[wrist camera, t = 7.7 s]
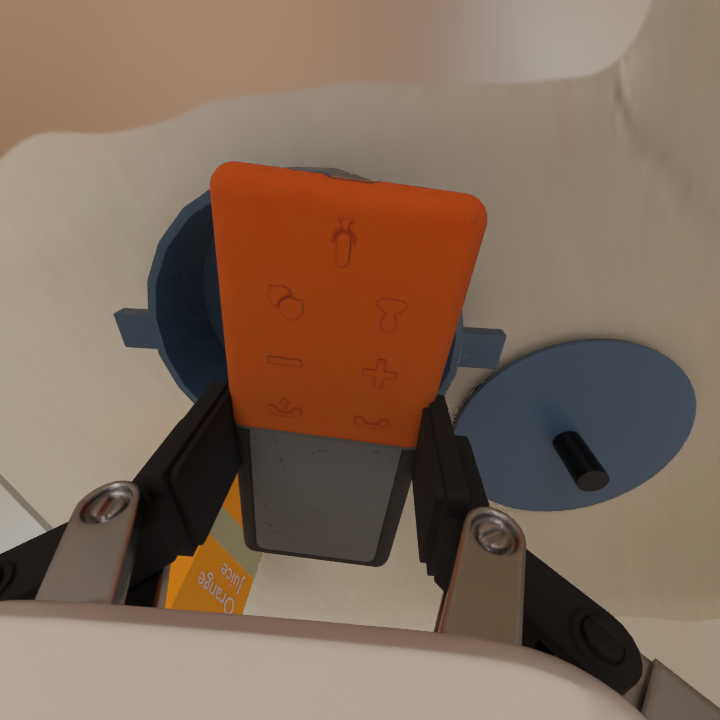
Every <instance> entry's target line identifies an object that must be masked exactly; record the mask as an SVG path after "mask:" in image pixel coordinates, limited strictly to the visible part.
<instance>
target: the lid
mask: <svg viewBox="0 0 720 720" xmlns="http://www.w3.org/2000/svg"><path fill="white" fill-rule="evenodd" d="M695 415H696V399H695V393H694V390H693V387H692V385H691V382H690V380H689V379H688V377H687V376H686V374H685V373H684V372H683V370H682V369H681V368H680V367H679V366H677V365H676V364H675V363H674V362H673V361H672V360H670V359H669V358H667V357H666V356H664V355H663V354H661V353H659V352H658V351H656V350H653V349H651V348H648V347H646V346H644V345H640V344H636V343H632V342H628V341H621V340H612V339H588V340H579V341H571V342H566V343H562V344H557V345H553V346H550V347H547V348H544V349H541V350H537V351H535V352H533V353H530V354H528V355H526V356H523V357H521V358H519V359H517V360H515V361H514V362H512V363H510V364H508V365H506V366H505V367H503V368H502V369H500V370H499V371H498V372H496V373H495V374H493V375H492V376H491V377H489V378H488V379H487V380H486V381H485V382H484V383H483V384H481V385H480V386H479V387H478V388H477V390H476V391H475V392H474V393H473V394H472V395H471V396H470V397H469V399H468V400H467V402H466V403H465V405H464V406H463V408H462V409H461V411H460V413H459V415H458V417H457V420H456V423H455V426H454V429H453V432H454V435H460V436H467V437H468V439H469V441H470V444H471V448H472V451H473V454H474V457H475V461H476V464H477V467H478V470H479V473H480V477H481V480H482V483H483V486H484V490H485V493H486V496H487V499H489V500H491V501H493V502H496V503H498V504H501V505H504V506H507V507H511V508H516V509H521V510H529V511H563V510H571V509H577V508H582V507H587V506H591V505H594V504H598V503H601V502H604V501H607V500H610V499H612V498H615V497H617V496H619V495H622V494H624V493H626V492H628V491H630V490H632V489H634V488H636V487H637V486H639V485H641V484H642V483H644V482H645V481H647V480H649V479H650V478H652V477H653V476H654V475H655V474H657V473H658V472H659V471H660V470H662V469H663V468H664V467H665V466H666V465H667V464H668V463H669V462H670V461H671V460H672V459H673V458H674V457H675V455H676V454H677V453H678V452H679V451H680V449H681V448H682V446H683V445H684V443H685V442H686V440H687V438H688V436H689V434H690V432H691V429H692V427H693V424H694V420H695Z"/></svg>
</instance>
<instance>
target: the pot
mask: <svg viewBox="0 0 720 720" xmlns="http://www.w3.org/2000/svg"><path fill="white" fill-rule="evenodd" d="M287 169H293V170H301V171H308V172H315V173H322V174H327V175H332V176H340V177H347V178H354V179H361V180H368V179H365V178H362V177H359V176H357V175H354V174H350V173H347V172H345V171H342V170H339V169H335V168H309V167H288V168H287ZM368 181H370V180H368ZM147 287H148V309H131V308H123V309H121V310H119V311H118V312H116V313H114V316H115V319H116V322H117V325H118V327H119V330H120V333H121V336H122V338H123V341H124V344H125V346H126V347H134V348H151V349H158V352H159V355H160V357H161V359H162V360H163V362H164V364H165V365H166V367H167V369H168V370H169V372H170V374H171V375H172V377H173V379H174V380H175V382H176V384H177V385H178V386H179V388H180V389H181V390H182V391H183V392H184V393H185V394H186V395H187V396H188V397H189V399H190V400H191V401H192V402H193V403H194V404H195V403H196V402H197V400H198V399H199V398H200V396H201V395H202V394H203V393H204V391H205V390H206V389H207V387H208V386H209V385H210V384H211V383H212V382H213V381H220V382H229V380H228V370H227V360H226V350H225V339H224V329H223V319H222V309H221V298H220V288H219V278H218V268H217V257H216V247H215V237H214V227H213V216H212V206H211V196H210V190H208V191H207V192H205V193H204V194H202V195H201V196H200V197H198V198H197V199H195V200H194V201H192V202H191V203H189V204H188V205H187V206H185V207H184V208H183V209H182V210H181V212H180V213H179V214H178V216H177V217H176V219H175V220H174V221H173V223H172V224H171V226H170V227H169V228H168V230H167V231H166V233H165V234H164V236H163V237H162V238H161V240H160V241H159V243H158V246H157V250H156V253H155V256H154V260H153V263H152V267H151V270H150V274H149V277H148V282H147ZM505 339H506V335H505V333H504V332H503V330H501V329H487V328H469V327H463V318H462V310H461V314H460V317H459V321H458V324H457V327H456V331H455V334H454V338H453V341H452V344H451V348H450V351H449V355H448V358H447V361H446V365H445V368H444V372H443V375H442V381H441V385H440V388H439V392H438V395H445V393H446V391H447V390H448V388H449V386H450V384H451V382H452V380H453V379H454V377H455V375H456V373H457V368H458V367H472V368H488V369H497V367H498V364H499V360H500V357H501V353H502V350H503V346H504V343H505Z"/></svg>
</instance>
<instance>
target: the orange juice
mask: <svg viewBox="0 0 720 720" xmlns="http://www.w3.org/2000/svg"><path fill="white" fill-rule="evenodd" d="M261 555H262V552H257V551H252V550H250V549H249V548H248V547H247V546H246V544H245V542H244V534H243V524H242V513H241V503H240V493H239V483H238V473H237V475H236V478H235V480H234V482H233V484H232V486H231V488H230V490H229V493H228V495H227V497H226V499H225V501H224V503H223V505H222V507H221V510H220V512H219V514H218V516H217V518H216V520H215V522H214V525H213V527H212V529H211V531H210V533H209V535H208V537H207V539H206V541H205V543H204V544H203V545H199V546H198V548H197V550H196V552H195V554H194V556H193V557H190V556H177V558H176V560H175V561H174V562H172V563H171V567H170V574H169V581H168V589H167V596H166V603H165V608H166V609H179V610H191V611H203V612H215V613H227V614H239V615H242V614H243V610H244V607H245V604H246V601H247V598H248V595H249V591H250V588H251V585H252V582H253V579H254V577H255V574H256V571H257V568H258V565H259V561H260V558H261Z"/></svg>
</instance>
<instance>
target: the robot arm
mask: <svg viewBox="0 0 720 720" xmlns="http://www.w3.org/2000/svg"><path fill="white" fill-rule="evenodd" d="M241 465H242V462H241V456H240V450H239V445H238V439H237V433H236V427H235V420H234V414H233V408H232V401H231V394H230V390H229V382H220V381H213V382H212V383H211V384H210V385H209V386H208V387H207V389H206V390H205V391H204V393H203V394H202V395H201V396H200V398H199V399H198V400H197V402H196V403H195V404H194V405H193V407H192V408H191V409H190V410H189V412H188V413H187V414H186V416H185V417H184V418H183V419H182V420H181V421H180V422H179V423H178V424H177V425H176V426H175V428H174V429H173V430H172V431H171V433H170V434H169V435H168V436H167V438H166V439H165V440H164V442H163V443H162V444H161V445H160V447H159V448H158V449H157V450H156V452H155V453H154V454H153V455H152V457H151V458H150V459H149V461H148V462H147V463H146V464H145V466H144V467H143V468H142V469H141V471H140V472H139V473H138V474H137V476H136V477H135V478H134V480H133V481H132V482H130V481H115V482H112V483H108V484H105V485H103V486H101V487H99V488H97V489H95V490H93V491H92V492H91V493H89V494H88V495H86V496H85V497H84V498H83V499H82V500H81V501H80V502H79V503H78V505H77V506H76V508H75V509H74V511H73V513H72V515H71V518H70V520H69V522H67V523H65V524H63V525H60V526H58V527H56V528H54V529H52V530H50V531H48V532H46V533H44V534H42V535H39V536H37V537H35V538H33V539H31V540H29V541H27V542H25V543H23V544H21V545H19V546H16V547H15V548H12V549H10V550H8V551H6V552H4V553H2V554H0V720H720V708H718V707H717V706H716V705H715V704H714V703H712V702H711V701H710V700H708V699H707V698H706V697H704V696H703V695H702V694H701V693H699V692H698V691H697V690H696V689H694V688H693V687H692V686H690V685H689V684H688V683H687V682H685V681H684V680H682V679H681V678H680V677H679V676H678V675H676V674H675V673H674V672H672V671H671V670H670V669H669V668H667V667H666V666H665V665H663V664H662V663H661V662H660V661H658V660H657V659H654V660H653V661H650V660H649V659H648V658H646V657H645V656H644V655H643V654H641V653H640V652H639V649H638V648H637V646H636V644H635V642H634V640H633V638H632V637H631V635H630V634H629V633H628V631H627V630H626V629H625V628H624V626H623V625H622V624H621V623H620V622H618V621H617V620H616V619H615V618H614V617H613V616H612V615H611V614H610V613H608V612H607V611H606V610H605V609H603V608H602V607H601V606H599V605H598V604H597V603H596V602H594V601H593V600H592V599H590V598H589V597H588V596H586V595H585V594H584V593H583V592H581V591H580V590H579V589H577V588H576V587H575V586H574V585H572V584H571V583H570V582H568V581H567V580H566V579H564V578H563V577H562V576H561V575H559V574H558V573H557V572H555V571H554V570H553V569H552V568H550V567H549V566H548V565H546V564H545V563H544V562H542V561H541V560H540V559H539V558H537V557H536V556H535V555H533V554H532V553H531V552H530V551H528V550H527V549H526V540H525V536H524V534H523V531H522V529H521V528H520V526H519V525H518V524H517V523H516V521H515V520H514V519H512V518H511V517H510V516H509V515H508V514H506V513H504V512H502V511H500V510H498V509H495V508H491V507H490V506H489V503H488V499H487V496H486V493H485V490H484V486H483V483H482V480H481V477H480V473H479V470H478V467H477V464H476V461H475V457H474V454H473V451H472V448H471V444H470V441H469V439H468V437H467V436H460V435H454V432H453V428H452V424H451V420H450V416H449V412H448V409H447V405H446V401H445V397H444V395H437V397H436V399H435V400H434V401H433V402H432V403H430V405H429V407H428V408H424V409H423V410H422V416H421V422H420V428H419V434H418V440H417V445H416V451H415V457H414V462H413V468H412V483H413V494H414V505H415V516H416V527H417V538H418V549H419V559H420V562H421V563H426V565H427V574H428V575H429V576H434V580H435V583H436V584H437V585H438V586H439V587H440V588H441V589H442V590H443V594H442V598H441V603H440V607H439V611H438V615H437V619H436V624H435V628H434V632H427V631H418V630H408V629H397V628H386V627H375V626H364V625H353V624H342V623H331V622H320V621H309V620H297V619H285V618H274V617H262V616H251V615H239V614H227V613H215V612H203V611H191V610H179V609H166V608H165V603H166V596H167V589H168V581H169V574H170V567H171V563H172V562H174V561H175V560H176V558H177V556H190V557H193V556H194V554H195V552H196V550H197V548H198V546H199V545H203V544H204V543H205V541H206V539H207V537H208V535H209V533H210V531H211V529H212V527H213V525H214V522H215V520H216V518H217V516H218V514H219V512H220V510H221V507H222V505H223V503H224V501H225V499H226V497H227V495H228V493H229V490H230V488H231V486H232V484H233V482H234V480H235V478H236V475H237V473H238V471H239V469H240V467H241Z"/></svg>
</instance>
